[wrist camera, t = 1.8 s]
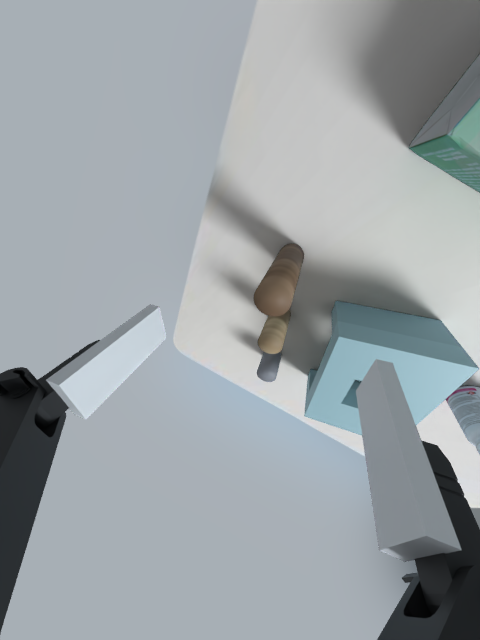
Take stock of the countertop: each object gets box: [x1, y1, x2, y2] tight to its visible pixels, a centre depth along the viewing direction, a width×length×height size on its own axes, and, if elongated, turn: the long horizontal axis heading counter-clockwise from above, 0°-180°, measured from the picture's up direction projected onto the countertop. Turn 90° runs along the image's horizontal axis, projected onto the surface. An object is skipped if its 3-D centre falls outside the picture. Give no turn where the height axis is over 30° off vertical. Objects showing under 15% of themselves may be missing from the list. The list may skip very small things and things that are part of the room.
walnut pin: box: [254, 244, 304, 316], centre depth 22 cm, size 3×3×12 cm
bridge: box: [304, 301, 479, 435], centre depth 28 cm, size 16×12×8 cm
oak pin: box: [258, 310, 291, 354], centre depth 29 cm, size 3×3×8 cm
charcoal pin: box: [257, 352, 281, 382], centre depth 35 cm, size 3×3×5 cm
